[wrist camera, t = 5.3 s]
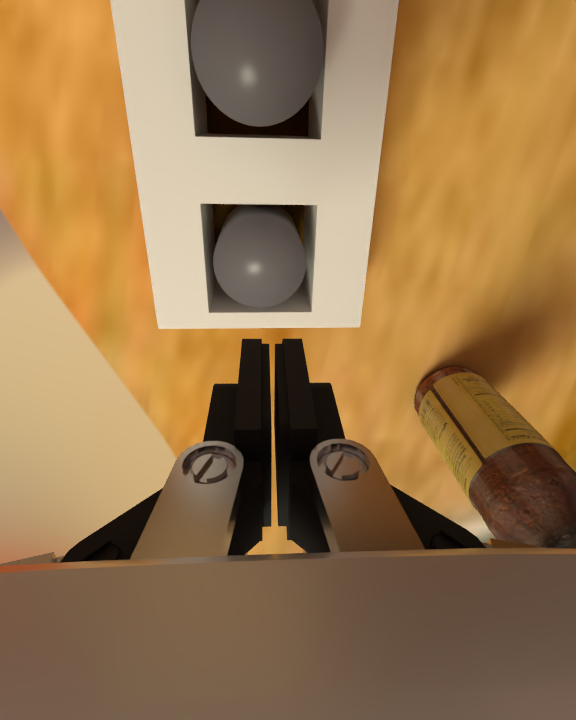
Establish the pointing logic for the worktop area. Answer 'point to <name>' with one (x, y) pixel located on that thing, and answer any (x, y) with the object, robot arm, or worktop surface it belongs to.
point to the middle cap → (257, 56)
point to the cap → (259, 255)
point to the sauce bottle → (499, 460)
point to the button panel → (255, 164)
